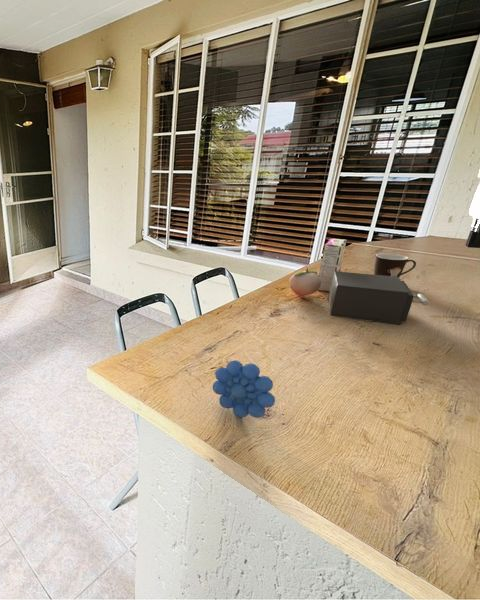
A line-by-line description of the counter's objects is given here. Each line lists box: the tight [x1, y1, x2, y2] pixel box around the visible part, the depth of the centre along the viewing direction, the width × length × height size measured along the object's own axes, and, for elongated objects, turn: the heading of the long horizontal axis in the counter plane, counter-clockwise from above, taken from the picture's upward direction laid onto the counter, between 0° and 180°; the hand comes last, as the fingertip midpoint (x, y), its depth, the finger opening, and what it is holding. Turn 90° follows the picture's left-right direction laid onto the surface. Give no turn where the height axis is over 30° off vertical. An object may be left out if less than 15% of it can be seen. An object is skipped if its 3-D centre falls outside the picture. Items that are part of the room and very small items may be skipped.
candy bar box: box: [317, 238, 348, 293], centre depth 122 cm, size 11×5×16 cm, turn 137°
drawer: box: [400, 280, 430, 323], centre depth 102 cm, size 19×13×8 cm
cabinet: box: [328, 271, 409, 326], centre depth 104 cm, size 16×15×10 cm
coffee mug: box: [373, 253, 417, 278], centre depth 122 cm, size 12×9×10 cm
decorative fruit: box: [288, 268, 321, 298], centre depth 116 cm, size 9×8×10 cm
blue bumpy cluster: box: [212, 359, 276, 419], centre depth 64 cm, size 12×7×12 cm, turn 35°
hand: (474, 247), depth 88 cm, fingers closed
